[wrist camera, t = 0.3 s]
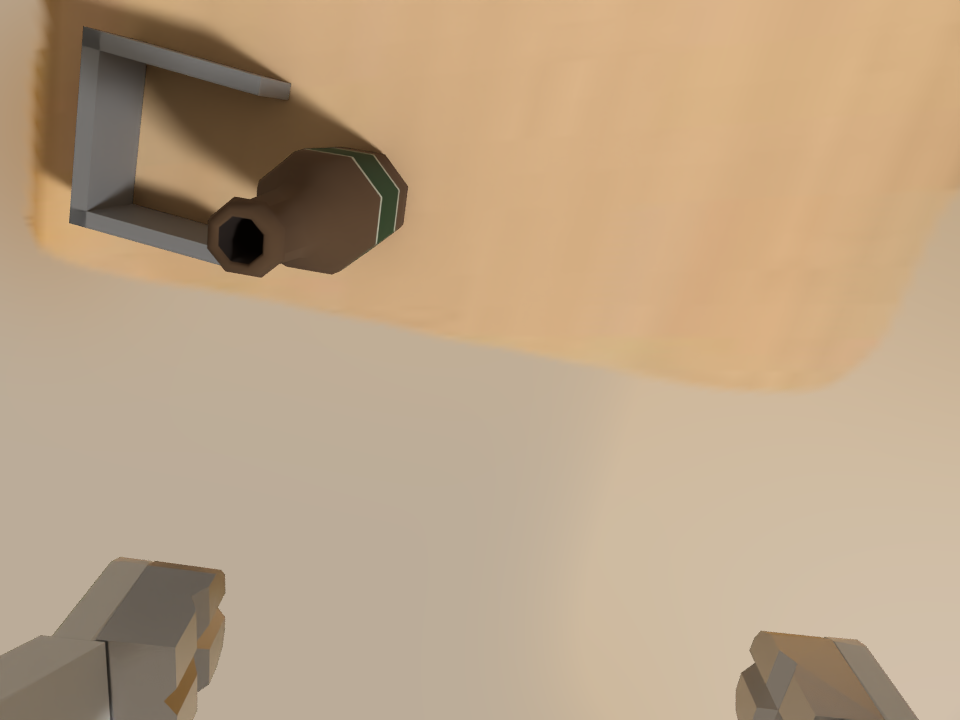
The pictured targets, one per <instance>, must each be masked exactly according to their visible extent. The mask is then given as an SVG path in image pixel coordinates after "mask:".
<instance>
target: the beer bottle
mask: <svg viewBox="0 0 960 720" xmlns="http://www.w3.org/2000/svg"><path fill="white" fill-rule="evenodd" d="M407 190H408V186H407V184H406V183H405V182H404V180H403V179H402V178H401V176H400V175H399V173H398V172H397V171H396V169H395V168H394V166H393V165H392V164H391V162H390V161H389V159H388V158H387V157H386V155H384V154H378V153H373V152H367V151H361V150H355V149H350V148H344V147H332V148H311V149H302V150H299V151H295V152H294V153H293V154H291V155H290V156H289V157H288V158H286V159H285V160H284V161H283V162H282V163H280V164H279V165H278V166H277V167H275V168H274V169H273V170H272V171H271V172H269V173H268V174H267V175H266V176H264V177H263V178H262V179H261V180H259V183H258V187H257V197H255V198H252V199H245V198H239V197H234V198H233V199H231V200H230V201H229V202H228V203H226V204H225V205H224V206H223V207H221V208H220V209H219V210H218V211H217V212H215V213H214V214H213V215H212V216H211V217H210V219H209V220H208V236H207V249H208V250H209V252H210V253H211V254H212V255H213V256H214V258H215V259H216V260H217V261H218V263H219V264H220V265H221V266H222V268H223V269H224V270H225V271H227V272H232V273H238V274H244V275H249V276H255V277H261V278H262V277H263V276H264V275H265V274H267V273H268V272H269V271H271V270H272V269H273V268H275V267H276V266H277V265H278V264H281V263H282V264H283V265H285V266H287V267H292V268H298V269H304V270H309V271H315V272H321V273H326V274H334V273H337V272H339V271H341V270H342V269H344V268H345V267H347V266H348V265H350V264H351V263H352V262H354V261H355V260H357V259H358V258H359V257H361V256H362V255H364V254H365V253H367V252H368V251H369V250H371V249H372V248H374V247H375V246H376V245H378V244H379V243H380V242H382V241H383V240H384V239H386V238H387V237H388V236H390V235H391V234H392V233H394V232H395V231H396V230H398V229H399V228H400V227H401V226H402V225H403V222H404V214H405V206H406V198H407Z"/></svg>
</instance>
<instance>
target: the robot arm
mask: <svg viewBox="0 0 960 720" xmlns="http://www.w3.org/2000/svg"><path fill="white" fill-rule="evenodd" d="M224 594H225V574H224V573H223V572H222V571H221V570H217V569H210V568H203V567H196V566H188V565H181V564H173V563H166V562H159V561H154V562H152V561H147V560H139V559H131V558H124V557H119V558H118V559H115V560H113V561H112V562H111V563H110V564H109V565H108V566H107V567H106V569H105V570H104V571H103V572H102V574H101V575H100V576H99V578H98V579H97V580H96V581H95V582H94V584H93V585H92V586H91V588H90V589H89V590H88V591H87V593H86V594H85V595H84V597H83V598H82V599H81V600H80V601H79V603H78V604H77V605H76V606H75V608H74V609H73V610H72V611H71V613H70V614H69V615H68V617H67V618H66V619H65V620H64V622H63V623H62V624H61V625H60V627H59V628H58V629H57V630H56V632H55V633H54V634H53V635H52V636H42V635H41V636H39V637H37V638H34V639H33V640H31V641H29V642H27V643H25V644H23V645H21V646H19V647H17V648H15V649H13V650H11V651H9V652H7V653H5V654H3V655H1V656H0V720H193V718H194V716H195V714H196V712H197V692H199V691H200V690H201V689H203V688H204V687H206V686H207V685H209V683H210V681H211V679H212V677H213V674H214V672H215V670H216V667H217V664H218V660H219V657H220V653H221V650H222V646H223V639H224V631H225V616H224V615H223V614H222V612H221V611H220V610H219V608H218V606H219V604H220V602H221V600H222V598H223V596H224ZM750 653H751V655H752V657H753V659H754V661H755V663H754V664H753V665H752V666H750V667H749V668H747V669H746V670H745V671H743V672H742V673H741V676H740V679H739V682H738V685H737V688H736V713H737V718H738V720H919V719H918V718H917V717H916V715H915V714H914V712H913V711H912V710H911V708H910V707H909V706H908V704H907V703H906V701H905V700H904V698H902V696H901V694H900V693H899V692H898V690H897V689H896V687H895V686H894V685H893V683H892V682H891V680H890V679H889V677H888V676H887V675H886V673H885V672H884V670H883V669H882V668H881V667H880V665H879V663H878V662H877V661H876V659H875V658H874V656H873V655H872V654H871V652H870V651H869V650H868V648H867V647H866V646H865V645H864V644H862V643H861V642H859V641H858V640H854V639H842V638H831V637H824V638H821V637H814V636H804V635H795V634H785V633H777V632H767V631H760V632H759V633H758V635H757V636H756V637H755V638H754V640H753V643H752V645H751V648H750Z"/></svg>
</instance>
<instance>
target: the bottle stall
mask: <svg viewBox="0 0 960 720" xmlns="http://www.w3.org/2000/svg"><path fill="white" fill-rule="evenodd" d="M147 64H149V65H153V66H156V67H160V68H163V69H167V70H170V71H174V72H177V73H181V74H184V75H188V76H191V77H195V78H198V79H202V80H205V81H209V82H212V83H216V84H219V85H223V86H226V87H230V88H233V89H237V90H240V91H244V92H247V93H251V94H255V95H258V96H264V97H270V98H277V99H283V100H288V99H289V93H290V87H291V84H290V83H286V82H283V81H279V80H276V79H272V78H269V77H265V76H262V75H258V74H255V73H251V72H248V71H244V70H241V69H237V68H234V67H230V66H227V65H223V64H220V63H216V62H213V61H209V60H206V59H202V58H199V57H195V56H192V55H188V54H185V53H181V52H178V51H174V50H171V49H167V48H164V47H160V46H157V45H153V44H150V43H146V42H143V41H139V40H136V39H132V38H128V37H124V36H120V35H116V34H112V33H108V32H104V31H100V30H96V29H92V28H88V27H84V26H83V39H82V53H81V66H80V80H79V94H78V108H77V121H76V135H75V149H74V163H73V177H72V190H71V204H70V218H69V223H71V224H75V225H78V226H82V227H85V228H89V229H92V230H96V231H100V232H103V233H107V234H110V235H114V236H117V237H121V238H125V239H128V240H132V241H135V242H139V243H142V244H146V245H150V246H153V247H157V248H160V249H164V250H167V251H171V252H175V253H178V254H182V255H185V256H189V257H192V258H196V259H200V260H203V261H207V262H210V263H214V264H217V265H220V264H219V263H218V261H217V260H216V259H215V258H214V256H213V255H212V254H211V253H210V252H209V250H208V249H207V236H208V225H207V224H203V223H199V222H196V221H192V220H189V219H185V218H182V217H178V216H174V215H171V214H167V213H164V212H160V211H157V210H153V209H150V208H146V207H142V206H139V205H135V204H132V203H133V193H134V183H135V173H136V163H137V153H138V144H139V134H140V124H141V114H142V104H143V94H144V84H145V75H146V65H147Z"/></svg>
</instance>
